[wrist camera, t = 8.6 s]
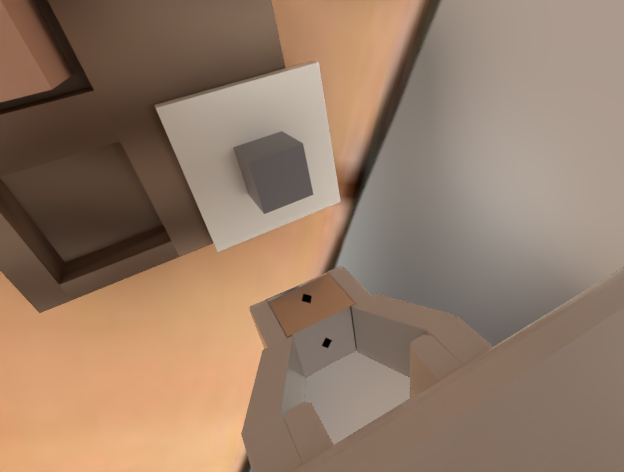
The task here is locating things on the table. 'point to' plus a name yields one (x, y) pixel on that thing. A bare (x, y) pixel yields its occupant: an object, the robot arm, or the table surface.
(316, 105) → the lid
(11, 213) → the board
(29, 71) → the block
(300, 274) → the table surface
